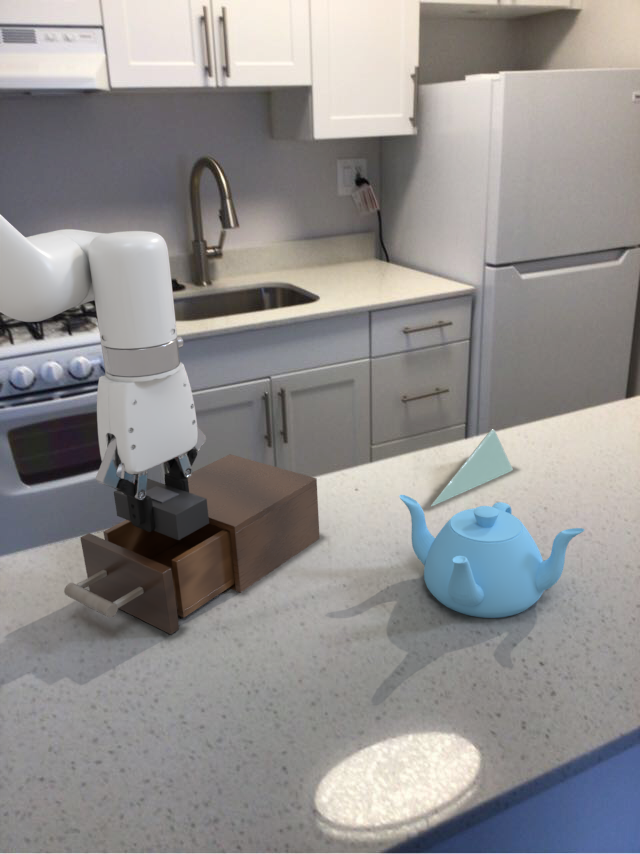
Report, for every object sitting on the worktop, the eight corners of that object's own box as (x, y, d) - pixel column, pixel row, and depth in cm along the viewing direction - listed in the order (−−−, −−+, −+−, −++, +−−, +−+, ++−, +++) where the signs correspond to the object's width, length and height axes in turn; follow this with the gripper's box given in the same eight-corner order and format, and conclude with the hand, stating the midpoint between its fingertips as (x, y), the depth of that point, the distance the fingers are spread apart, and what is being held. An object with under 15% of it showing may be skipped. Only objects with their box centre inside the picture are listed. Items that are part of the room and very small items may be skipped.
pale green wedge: (478, 524, 98) (528, 453, 110) (438, 494, 99) (492, 427, 111) (451, 556, 103) (502, 486, 115) (414, 527, 105) (467, 460, 117)
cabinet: (241, 598, 85) (234, 526, 82) (154, 561, 93) (145, 494, 90) (320, 543, 96) (316, 478, 92) (235, 514, 104) (230, 453, 101)
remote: (178, 540, 79) (175, 512, 77) (116, 516, 84) (113, 489, 83) (209, 523, 82) (206, 496, 81) (148, 500, 88) (144, 475, 86)
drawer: (133, 660, 74) (123, 596, 71) (52, 615, 82) (40, 556, 79) (258, 575, 87) (253, 519, 85) (178, 543, 95) (172, 491, 93)
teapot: (511, 550, 92) (515, 473, 88) (583, 619, 78) (591, 531, 75) (398, 572, 89) (397, 493, 85) (453, 648, 75) (455, 557, 71)
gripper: (178, 335, 85) (194, 482, 91) (47, 373, 73) (76, 540, 79) (226, 343, 81) (239, 497, 87) (96, 385, 68) (122, 561, 75)
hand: (161, 516), depth 83 cm, fingers closed on remote, 4 cm apart
